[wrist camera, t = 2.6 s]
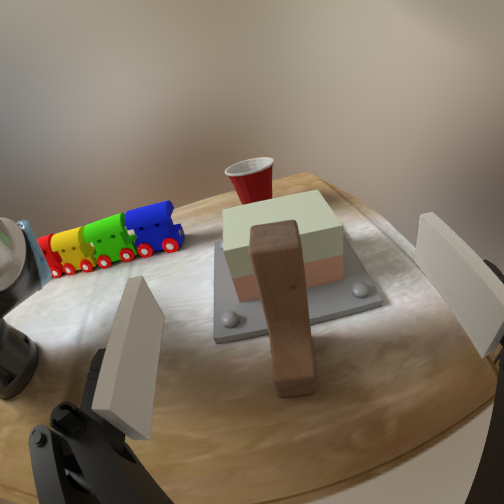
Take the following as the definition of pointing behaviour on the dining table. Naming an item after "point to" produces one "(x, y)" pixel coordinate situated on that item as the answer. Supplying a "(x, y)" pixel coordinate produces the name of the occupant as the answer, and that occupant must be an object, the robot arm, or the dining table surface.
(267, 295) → the wooden block
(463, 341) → the dining table surface
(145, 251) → the toy train
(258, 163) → the plastic cup
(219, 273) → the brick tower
